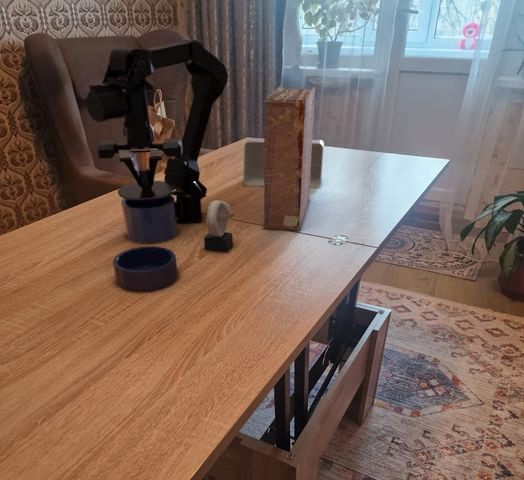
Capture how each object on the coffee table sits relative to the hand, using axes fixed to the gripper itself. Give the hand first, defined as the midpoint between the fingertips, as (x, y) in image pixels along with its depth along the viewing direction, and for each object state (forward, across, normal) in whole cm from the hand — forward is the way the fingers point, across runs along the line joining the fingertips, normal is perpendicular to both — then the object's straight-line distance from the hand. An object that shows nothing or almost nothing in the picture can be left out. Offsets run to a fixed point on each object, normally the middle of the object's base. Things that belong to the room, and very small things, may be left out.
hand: (146, 186), depth 115 cm
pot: (+12, 0, 0) cm, 12 cm away
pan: (+12, -2, +25) cm, 28 cm away
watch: (+12, -17, +10) cm, 23 cm away
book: (+12, -36, -12) cm, 40 cm away
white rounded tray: (+13, -38, -45) cm, 60 cm away
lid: (+1, 0, 0) cm, 1 cm away
